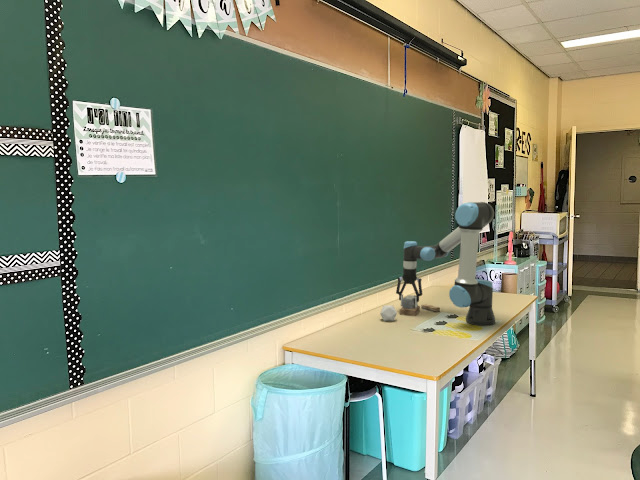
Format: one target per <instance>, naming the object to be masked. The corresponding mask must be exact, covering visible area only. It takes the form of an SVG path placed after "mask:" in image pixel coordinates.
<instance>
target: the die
mask: <svg viewBox="0 0 640 480" xmlns="http://www.w3.org/2000/svg"><path fill="white" fill-rule="evenodd" d="M397 313H398V312H397V309H395V307H394V305H390V304H389V305H382V308H381V311H380V316H381V318H382V320H383V322H395V319H396V317H397Z"/></svg>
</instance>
